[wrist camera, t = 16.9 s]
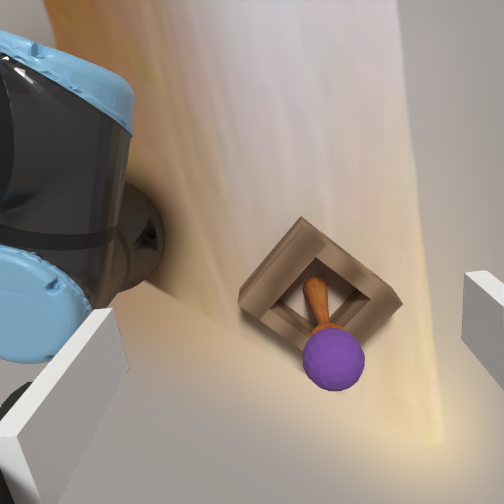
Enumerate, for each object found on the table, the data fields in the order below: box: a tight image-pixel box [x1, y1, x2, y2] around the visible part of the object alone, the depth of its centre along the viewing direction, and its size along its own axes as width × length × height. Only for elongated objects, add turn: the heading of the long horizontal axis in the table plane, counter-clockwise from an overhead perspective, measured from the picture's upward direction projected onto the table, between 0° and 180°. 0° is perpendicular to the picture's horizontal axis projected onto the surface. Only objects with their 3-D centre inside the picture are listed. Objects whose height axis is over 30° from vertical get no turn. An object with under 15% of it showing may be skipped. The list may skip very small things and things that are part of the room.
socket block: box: [237, 217, 403, 351], centre depth 55 cm, size 16×13×5 cm
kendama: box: [303, 276, 365, 391], centre depth 48 cm, size 6×6×20 cm
